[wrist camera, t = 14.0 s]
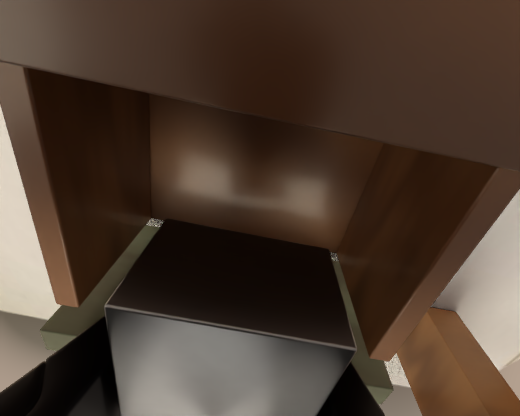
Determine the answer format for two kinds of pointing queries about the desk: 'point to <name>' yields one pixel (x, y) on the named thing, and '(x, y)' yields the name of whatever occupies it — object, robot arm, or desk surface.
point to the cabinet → (300, 62)
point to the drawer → (239, 200)
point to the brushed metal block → (227, 326)
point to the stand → (453, 370)
